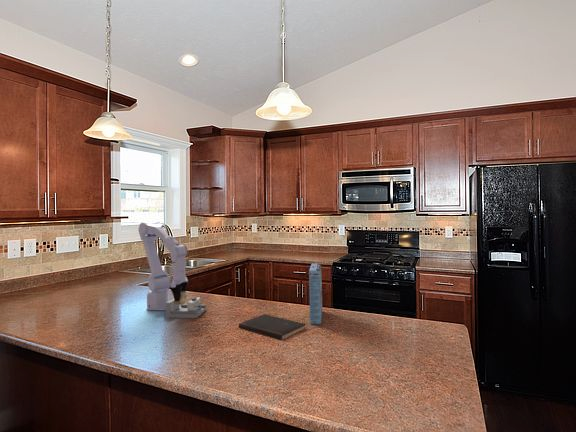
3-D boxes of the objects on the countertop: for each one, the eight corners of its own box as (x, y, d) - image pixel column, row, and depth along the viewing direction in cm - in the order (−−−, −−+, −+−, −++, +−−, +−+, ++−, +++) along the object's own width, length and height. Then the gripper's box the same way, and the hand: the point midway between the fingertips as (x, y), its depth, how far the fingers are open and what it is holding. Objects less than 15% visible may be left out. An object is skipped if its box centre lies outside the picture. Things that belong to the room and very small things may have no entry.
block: (174, 304, 162) (174, 293, 162) (178, 301, 167) (178, 291, 167) (182, 304, 162) (182, 293, 162) (186, 301, 167) (186, 291, 167)
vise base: (165, 317, 159) (164, 303, 159) (176, 309, 171) (175, 296, 171) (196, 318, 158) (196, 303, 158) (205, 310, 170) (205, 297, 170)
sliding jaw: (187, 312, 160) (187, 300, 160) (194, 307, 169) (194, 295, 169) (193, 313, 160) (193, 300, 159) (200, 307, 168) (200, 295, 168)
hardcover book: (264, 319, 157) (264, 314, 157) (306, 329, 143) (306, 324, 143) (238, 329, 144) (238, 323, 144) (281, 341, 130) (281, 335, 130)
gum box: (321, 324, 147) (320, 270, 146) (308, 324, 147) (308, 270, 147) (322, 311, 166) (322, 263, 165) (311, 310, 167) (311, 263, 166)
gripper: (181, 273, 157) (181, 303, 157) (193, 268, 171) (193, 295, 172) (166, 273, 158) (166, 303, 158) (179, 268, 172) (179, 295, 172)
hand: (179, 299), depth 165 cm, fingers closed on block, 5 cm apart
